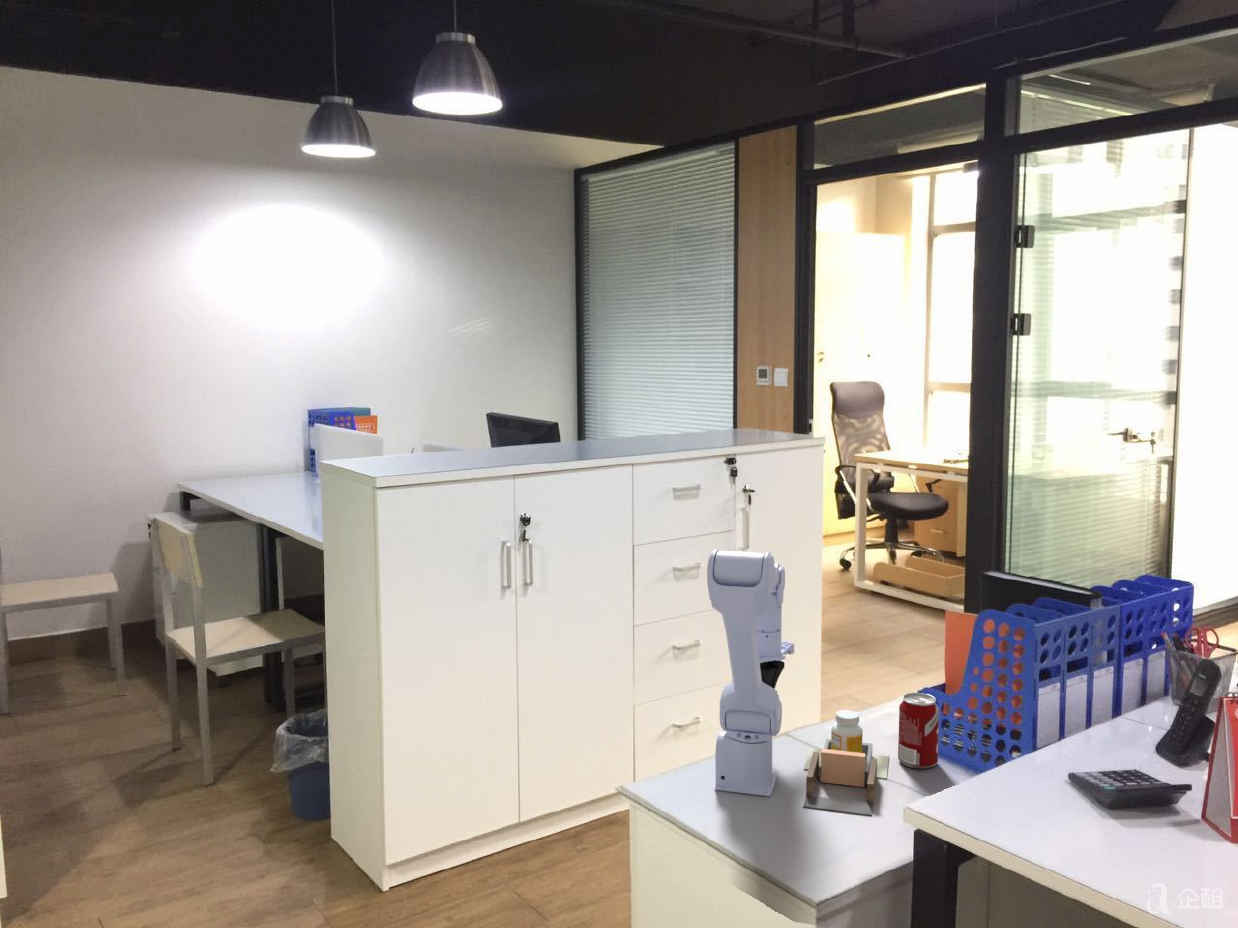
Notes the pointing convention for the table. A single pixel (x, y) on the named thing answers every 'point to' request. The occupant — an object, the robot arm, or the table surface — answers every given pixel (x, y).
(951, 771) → the table surface
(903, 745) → the soda can
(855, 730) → the supplement bottle
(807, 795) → the track
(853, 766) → the box
